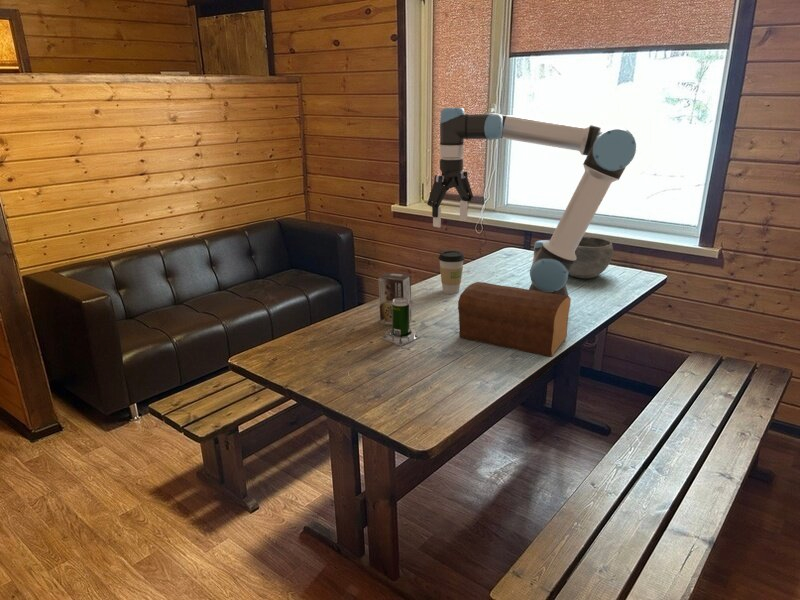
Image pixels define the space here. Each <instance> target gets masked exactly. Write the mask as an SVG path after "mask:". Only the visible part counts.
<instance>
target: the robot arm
mask: <svg viewBox="0 0 800 600" xmlns="http://www.w3.org/2000/svg"><path fill="white" fill-rule="evenodd" d="M439 121H440V122H439V137H440V138H439V157H440V159H439V170H440V171H441V175H434V178H433V179H434V180H433V184H432V187H431V190H430V193H429V198H428V200H427V206H429V207H431V209H432V210H431V211H432V212H431V213H432V214H431V216H432V226H433V227H435V228H438V229H440V228H441V226H442V207H440V206H441V204H442V201H443V199H444V197H445V195H446V194H447V191H449V190H450V189H452V188H455V190H456V192H457V193H458V195H459V196H460V199H461V200H460V202H459V220H460V221H465V222H467V221H468V214H469V213H468V210H469V202H472V199H473V197H474V194H473V192H472V189H471V184H470V181H469V177H468V176H469V175H468V171H464V159H463V157H464V147H465V146H464V144H465V143H464V140H489V141H492V140H499V139H503V140H511V141H515V142H523V143H528V144H534V145H539V146H541V145H542V146H546V147H553V148H558V149H565V150H569V151H570V150H571V151H576V152H577V151H578V152H579V153H580V155H582V156H586V158H585V160H584V162H583V163H582V165H583V168H584V173H583V175H582V177H581V179H580V181H579V182H578V184H577V186H576V188H575V190H574V192H573V194H572V196H571V197H570V200H569V202H568V204H567V206H566V208H565V211H564V212H563V214H562V217H560V220H559V222H558V224H557V226H556V228H555V230H554V231H553V234H552V236H551V238H550V239H543V240H542V239H541V240H536V241H535V242H534V247H533V256H532V257H533V258H532V262H531V266H530V269H529V277H530V281H531V283H530V286H529V289H528V290H536V291H541V292H546V293H552V294H559V295H565V296H569V292H568V289H567V282H568V278H569V275H570V274H569V272H570V270H571V268H572V266H573V264H574V262H575V261H576V259H577V258H576V255H575V250H576V248H577V247H578V245H579V243H580V241H581V239H582V237H584V236H585V233H587V230H588V227H589V226H590V224H591V222H592V220H593V218H594V217H595V214H596V212H597V211H598V209H599V207H600V205H601V203H602V201H603V199H604V197H605V195H606V194H607V192H608V190H609V189H610V187H611V184H612V183H614V182H616V181H619V180H620V179H621V176H622V175H623V173H624V171H625V169H626V168H627V166H628V165H629V164H631V162H632V161H633V159H634V158H635V154H636V152H637V143H636V139H635V137H634V136H633V134H632V133H631V132H630V131H629V130H628V129H626V128H625V127H623V126H620V125H615V124H613V125H602V124H601V125H600V124H590V123H588V124H587V125H585V126H583V125H574V124H570V123H561V122H556V121H555V122H554V121H548V120H543V119H536V118H528V117H522V116H516V115H508V114H507V115H506V114H501V113H496V112H494V111H487V112H486V111H485V112H484V113H482V114H481V113H478V114H477V113H476V114H467V113H466V112H465V108H464V107H443V108H442V109H441V110H440V119H439Z"/></svg>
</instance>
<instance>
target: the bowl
mask: <svg viewBox="0 0 800 600" xmlns="http://www.w3.org/2000/svg"><path fill="white" fill-rule="evenodd" d="M575 255H576V258H577V259H576V261H575V262H574V264H573V266H572V268H571V270H570V272H569V274H568V275H570V276H571V277H575V278H578V279H592V278H596V277H598V276H599V275H600V274H602V273H604V272H605V270H606V269H607V268H608V266H609V265H610V263H611V261H612V258H613V255H614V247H613V243H612V241H610V240H607V239H605V238H601V237H595V236H593V237H592V236H591V237H590V236H583V237H582V239H581V241H580V243H579V245H578V247H577V248H576V250H575Z"/></svg>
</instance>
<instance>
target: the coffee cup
mask: <svg viewBox="0 0 800 600" xmlns="http://www.w3.org/2000/svg"><path fill="white" fill-rule="evenodd" d="M438 260H439V273H440V279H441V280H440V281H441V286H442V287H441V288H442V293H443V294H446V295H457V294H459V293H460V289H461V282H462V275H463V269H464V260H465V255H464V253H463V252H462V251H459V250H444V251H440V254H439V255H438Z"/></svg>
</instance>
